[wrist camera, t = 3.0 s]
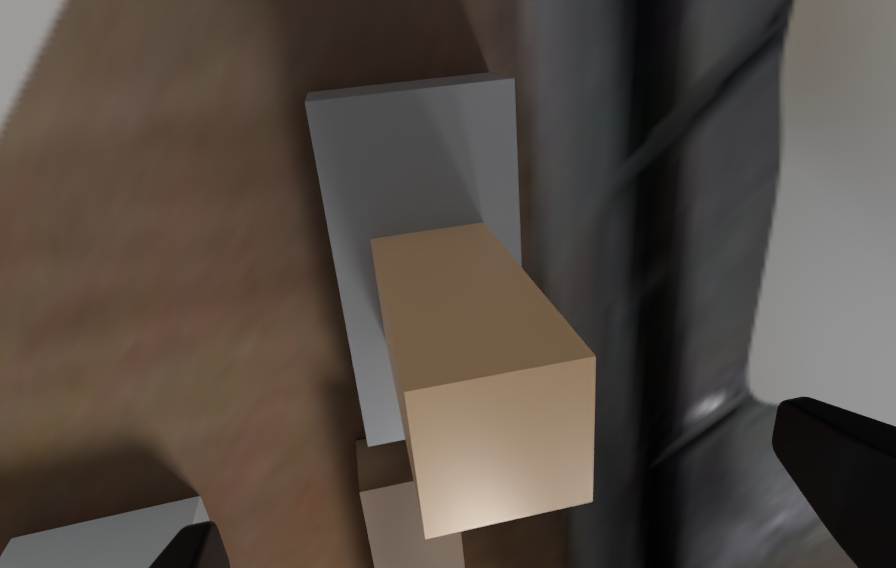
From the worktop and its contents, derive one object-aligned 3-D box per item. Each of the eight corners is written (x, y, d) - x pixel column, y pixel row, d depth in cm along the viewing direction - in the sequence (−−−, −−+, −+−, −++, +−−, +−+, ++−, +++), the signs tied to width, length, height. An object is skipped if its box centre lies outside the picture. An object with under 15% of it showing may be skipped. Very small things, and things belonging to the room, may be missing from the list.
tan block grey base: (488, 71, 16) (671, 115, 8) (504, 372, 20) (636, 620, 12) (307, 92, 15) (285, 165, 7) (363, 399, 20) (392, 683, 11)
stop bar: (440, 423, 20) (454, 472, 18) (460, 597, 24) (474, 655, 22) (355, 440, 20) (359, 492, 18) (389, 614, 24) (396, 675, 21)
